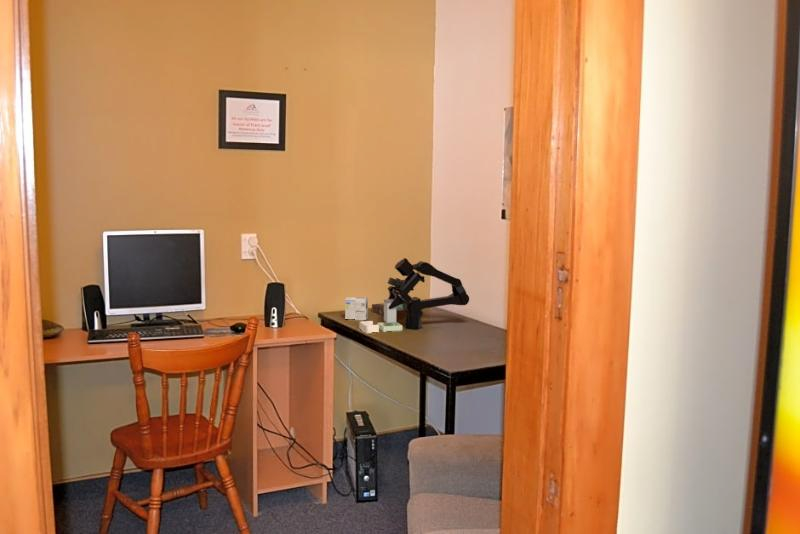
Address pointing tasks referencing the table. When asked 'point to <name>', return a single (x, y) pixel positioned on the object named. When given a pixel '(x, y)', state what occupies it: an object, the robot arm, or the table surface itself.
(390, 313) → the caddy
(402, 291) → the robot arm
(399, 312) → the book
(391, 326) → the tray
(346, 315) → the light bulb box
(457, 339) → the table surface
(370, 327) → the bay
